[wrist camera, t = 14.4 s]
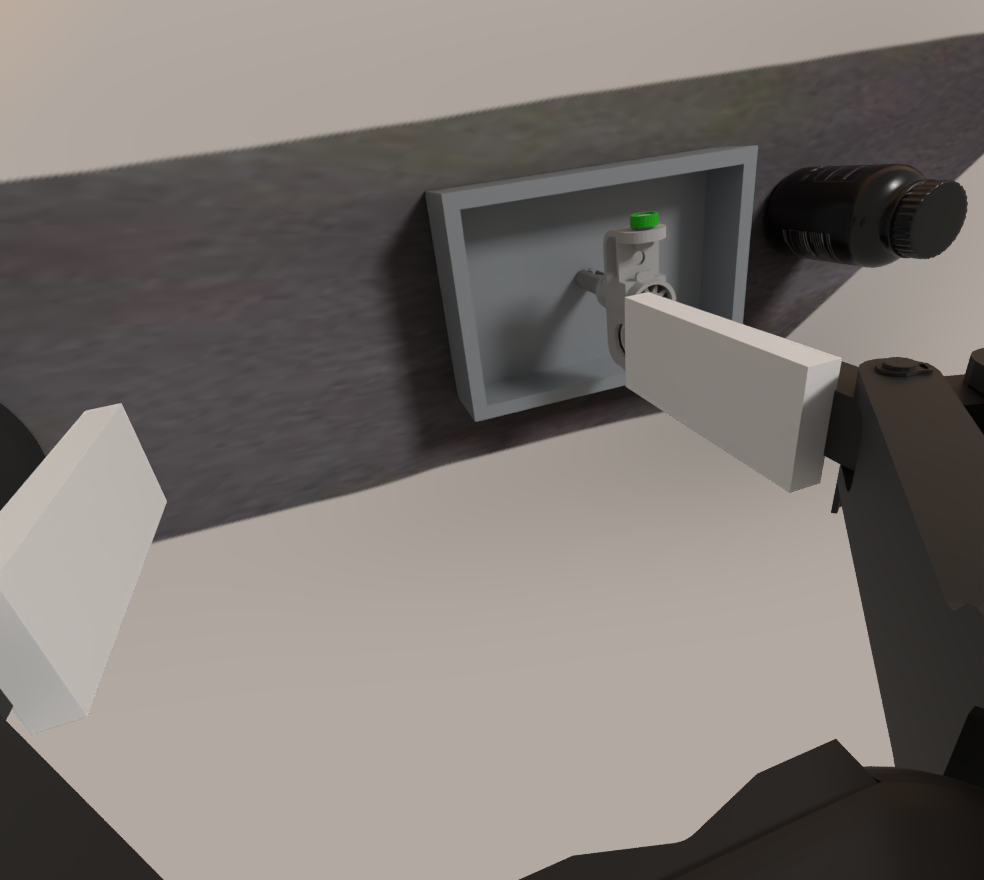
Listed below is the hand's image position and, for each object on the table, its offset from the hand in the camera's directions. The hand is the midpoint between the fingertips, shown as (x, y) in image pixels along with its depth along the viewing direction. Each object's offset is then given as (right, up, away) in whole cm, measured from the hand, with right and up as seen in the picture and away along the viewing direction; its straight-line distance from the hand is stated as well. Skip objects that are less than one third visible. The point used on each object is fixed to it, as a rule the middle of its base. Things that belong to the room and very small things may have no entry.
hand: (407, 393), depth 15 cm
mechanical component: (+9, +11, +28) cm, 31 cm away
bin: (+9, +11, +28) cm, 32 cm away
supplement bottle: (+27, +18, +32) cm, 46 cm away
